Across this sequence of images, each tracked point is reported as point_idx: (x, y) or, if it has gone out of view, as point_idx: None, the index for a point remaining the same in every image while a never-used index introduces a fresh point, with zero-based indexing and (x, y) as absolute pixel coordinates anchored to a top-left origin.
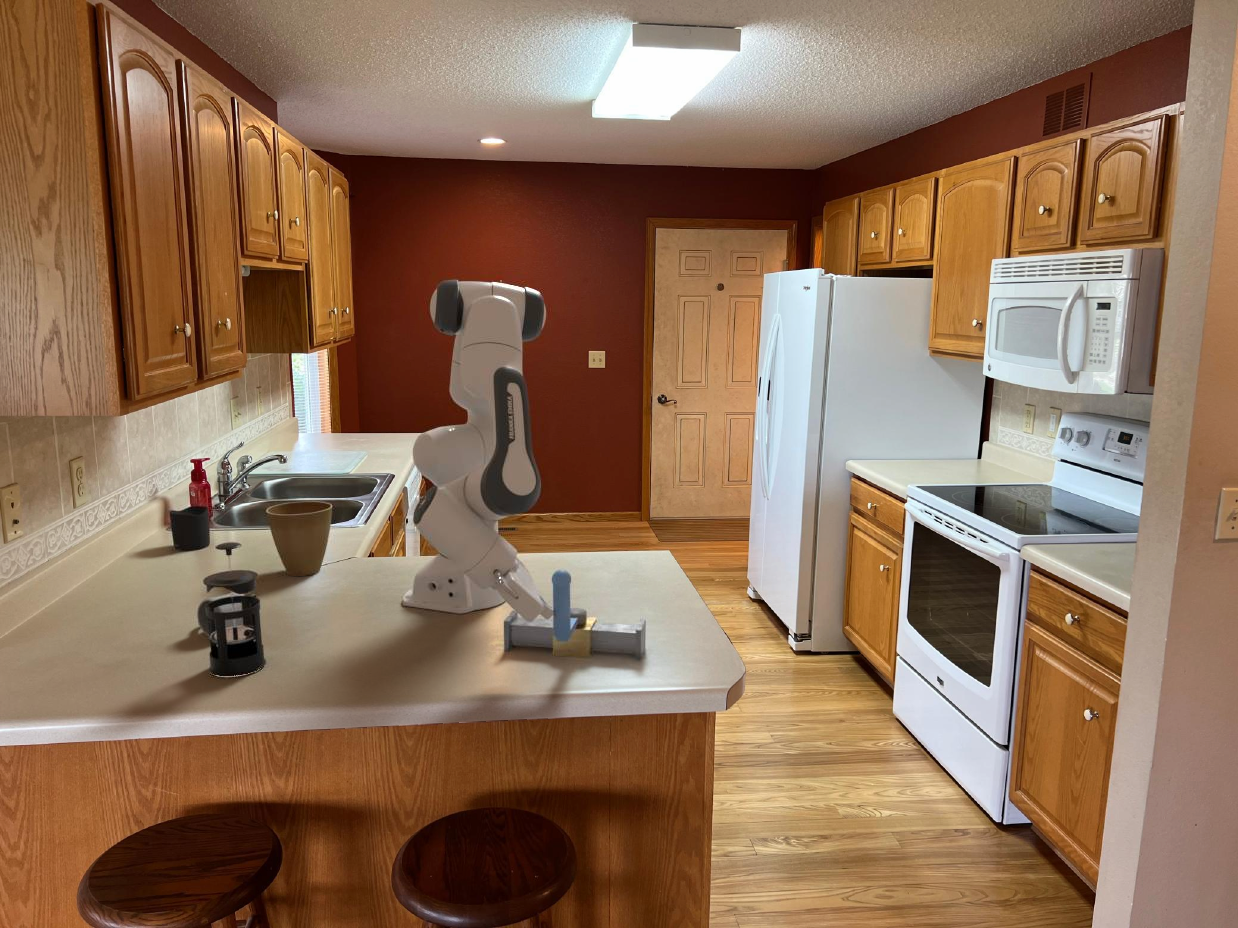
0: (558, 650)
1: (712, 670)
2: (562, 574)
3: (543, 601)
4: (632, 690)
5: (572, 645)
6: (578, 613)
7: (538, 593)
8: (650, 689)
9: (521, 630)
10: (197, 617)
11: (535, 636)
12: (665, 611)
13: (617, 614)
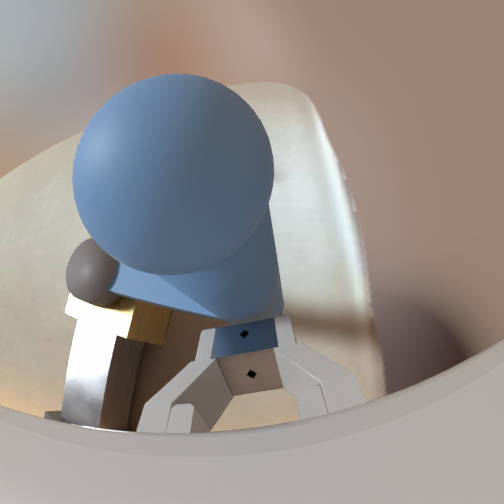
0: (160, 332)
1: (255, 98)
2: (224, 95)
3: (209, 370)
4: (340, 185)
5: None
6: (99, 257)
7: (379, 405)
8: (332, 160)
9: (109, 415)
10: None
11: (121, 382)
12: (55, 170)
13: (39, 228)
